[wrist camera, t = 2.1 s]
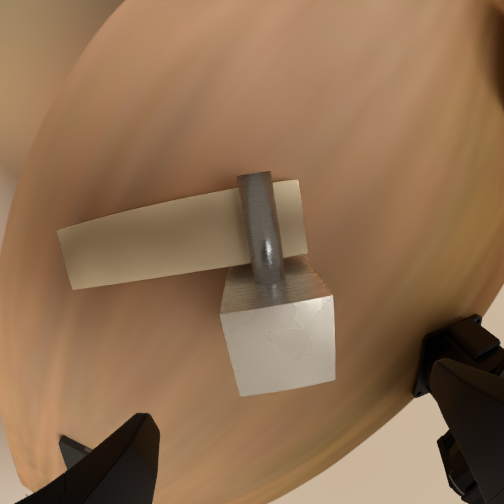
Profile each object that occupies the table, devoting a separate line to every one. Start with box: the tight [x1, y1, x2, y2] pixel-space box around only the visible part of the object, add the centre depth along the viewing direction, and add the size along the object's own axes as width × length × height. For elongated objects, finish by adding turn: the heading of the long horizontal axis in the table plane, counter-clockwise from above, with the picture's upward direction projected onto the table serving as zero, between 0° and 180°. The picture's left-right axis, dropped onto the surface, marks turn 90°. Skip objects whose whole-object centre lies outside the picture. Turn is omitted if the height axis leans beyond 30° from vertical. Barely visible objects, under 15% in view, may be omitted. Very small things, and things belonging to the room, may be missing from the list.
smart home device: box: [59, 435, 92, 470], centre depth 22 cm, size 8×2×20 cm
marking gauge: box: [219, 171, 335, 397], centre depth 12 cm, size 8×4×6 cm, turn 9°
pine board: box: [56, 180, 308, 290], centre depth 14 cm, size 4×13×2 cm, turn 99°
